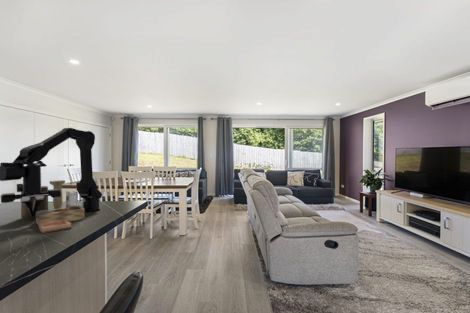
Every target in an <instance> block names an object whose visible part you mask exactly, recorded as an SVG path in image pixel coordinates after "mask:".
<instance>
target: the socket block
mask: <svg viewBox="0 0 470 313" xmlns="http://www.w3.org/2000/svg"><path fill="white" fill-rule="evenodd" d="M53 209H54V208H53ZM54 210H55V213H48V214H41V215H39V218H38V219H37V218H36V219H35V222H36V224H37V225H38V226H39V223H45V222H51V221H57V220H63V219H66V220H68V221H69V222H73V221H79V220H85V211H84V208H82V206H80V205H77V209H75V210H68V211H66V207H62V208H60V209H54Z"/></svg>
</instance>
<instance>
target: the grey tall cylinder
mask: <svg viewBox="0 0 470 313" xmlns="http://www.w3.org/2000/svg"><path fill="white" fill-rule="evenodd" d="M77 195H78V191H72V192H66V193H65V208H66V211H68V210H75V209H77V206H78V202H77V201H78V199H77V198H78V196H77Z"/></svg>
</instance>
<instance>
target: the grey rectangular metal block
mask: <svg viewBox="0 0 470 313" xmlns="http://www.w3.org/2000/svg"><path fill="white" fill-rule="evenodd" d="M48 213H55V210H54V208H50V209H49V208H48V210H42V211H36V218H37V219H38V218H39V215H41V214H48Z"/></svg>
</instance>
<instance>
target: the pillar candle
mask: <svg viewBox="0 0 470 313" xmlns="http://www.w3.org/2000/svg"><path fill="white" fill-rule="evenodd" d="M48 190H49V187H48V185H41V192H48ZM20 194H22V192H20ZM34 198H35V197H34ZM34 198H30V200H31V203H32V210H33V204H34ZM44 199H45V200H44V201H41V203H40V205H39V206H38V208H37V211H42V210H49V196H44ZM20 205H21V206H20V207H21V208H20V209H21V210H20V212H21V214H20V216H21V220H27V221H28V220H29V221H30V220H31V221H32V220H36V213H35V216H34V217H31V214H30V212H29V210H28V207H27V206H26V204H25V203H21V202H20Z"/></svg>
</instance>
